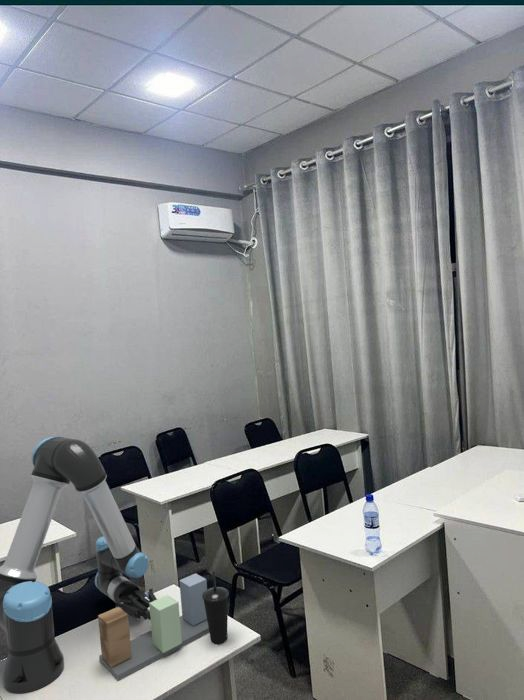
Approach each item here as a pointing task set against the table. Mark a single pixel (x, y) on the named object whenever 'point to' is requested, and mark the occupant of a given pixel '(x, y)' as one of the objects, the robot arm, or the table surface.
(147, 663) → the grey flat board
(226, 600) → the drinking cup
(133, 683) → the table surface
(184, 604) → the blue-grey tall block
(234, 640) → the table surface
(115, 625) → the brown wooden block
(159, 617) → the pale green block
